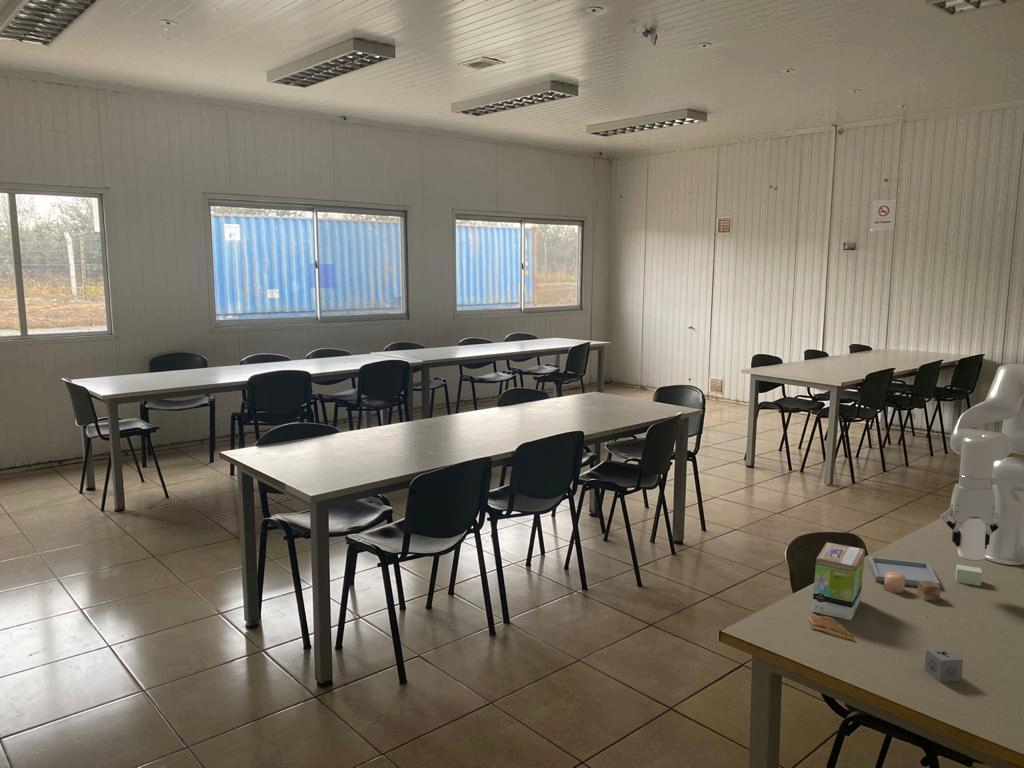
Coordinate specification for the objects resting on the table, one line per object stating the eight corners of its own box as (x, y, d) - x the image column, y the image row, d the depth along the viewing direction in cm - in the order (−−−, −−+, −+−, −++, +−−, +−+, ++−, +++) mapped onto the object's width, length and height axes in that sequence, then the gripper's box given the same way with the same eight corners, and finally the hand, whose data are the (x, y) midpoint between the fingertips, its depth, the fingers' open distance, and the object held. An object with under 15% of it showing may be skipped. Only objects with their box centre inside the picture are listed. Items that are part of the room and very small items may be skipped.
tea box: (852, 621, 191) (856, 565, 189) (810, 612, 197) (814, 557, 195) (861, 600, 204) (865, 547, 202) (821, 592, 209) (825, 540, 207)
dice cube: (945, 669, 168) (947, 648, 168) (961, 681, 164) (963, 659, 163) (924, 670, 168) (926, 649, 167) (939, 682, 163) (941, 660, 162)
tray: (927, 568, 227) (928, 562, 226) (939, 589, 211) (939, 583, 211) (868, 562, 231) (869, 556, 231) (875, 581, 216) (876, 575, 216)
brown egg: (900, 586, 213) (902, 572, 213) (906, 594, 209) (907, 580, 208) (881, 584, 214) (883, 571, 214) (886, 592, 209) (888, 578, 209)
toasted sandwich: (854, 643, 181) (854, 635, 181) (822, 643, 181) (822, 636, 181) (833, 622, 192) (834, 615, 192) (803, 622, 192) (804, 615, 192)
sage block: (979, 581, 218) (980, 568, 217) (980, 586, 214) (982, 572, 214) (955, 577, 220) (956, 564, 220) (956, 582, 217) (957, 569, 216)
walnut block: (932, 595, 208) (933, 581, 207) (939, 601, 204) (940, 586, 203) (917, 594, 208) (918, 580, 208) (923, 600, 204) (925, 586, 204)
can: (976, 551, 211) (977, 509, 209) (990, 560, 205) (991, 517, 203) (953, 552, 211) (953, 511, 209) (966, 561, 205) (966, 519, 203)
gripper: (1008, 480, 205) (1002, 543, 208) (936, 475, 211) (931, 538, 214) (1016, 488, 198) (1010, 554, 201) (942, 483, 204) (937, 547, 207)
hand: (970, 545), depth 207 cm, fingers closed on can, 5 cm apart
